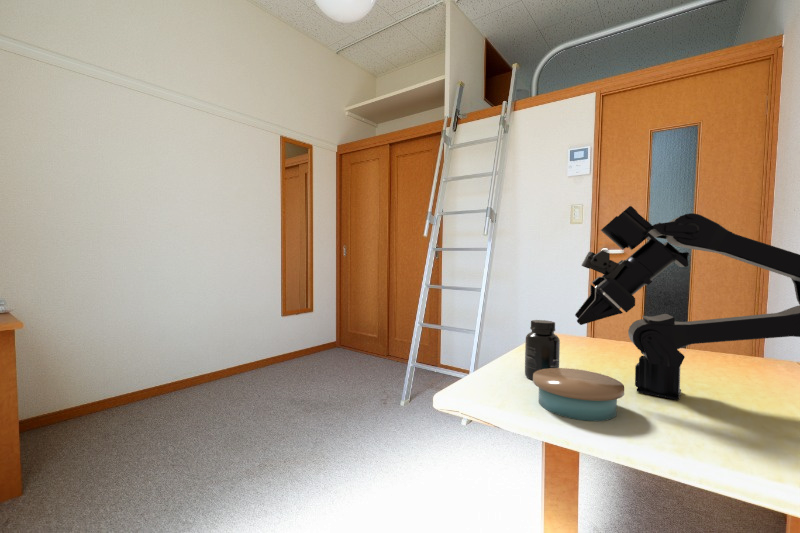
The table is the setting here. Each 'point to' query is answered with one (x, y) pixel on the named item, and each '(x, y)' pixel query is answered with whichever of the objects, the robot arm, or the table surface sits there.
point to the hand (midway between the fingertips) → (577, 319)
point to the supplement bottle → (541, 347)
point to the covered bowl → (578, 393)
